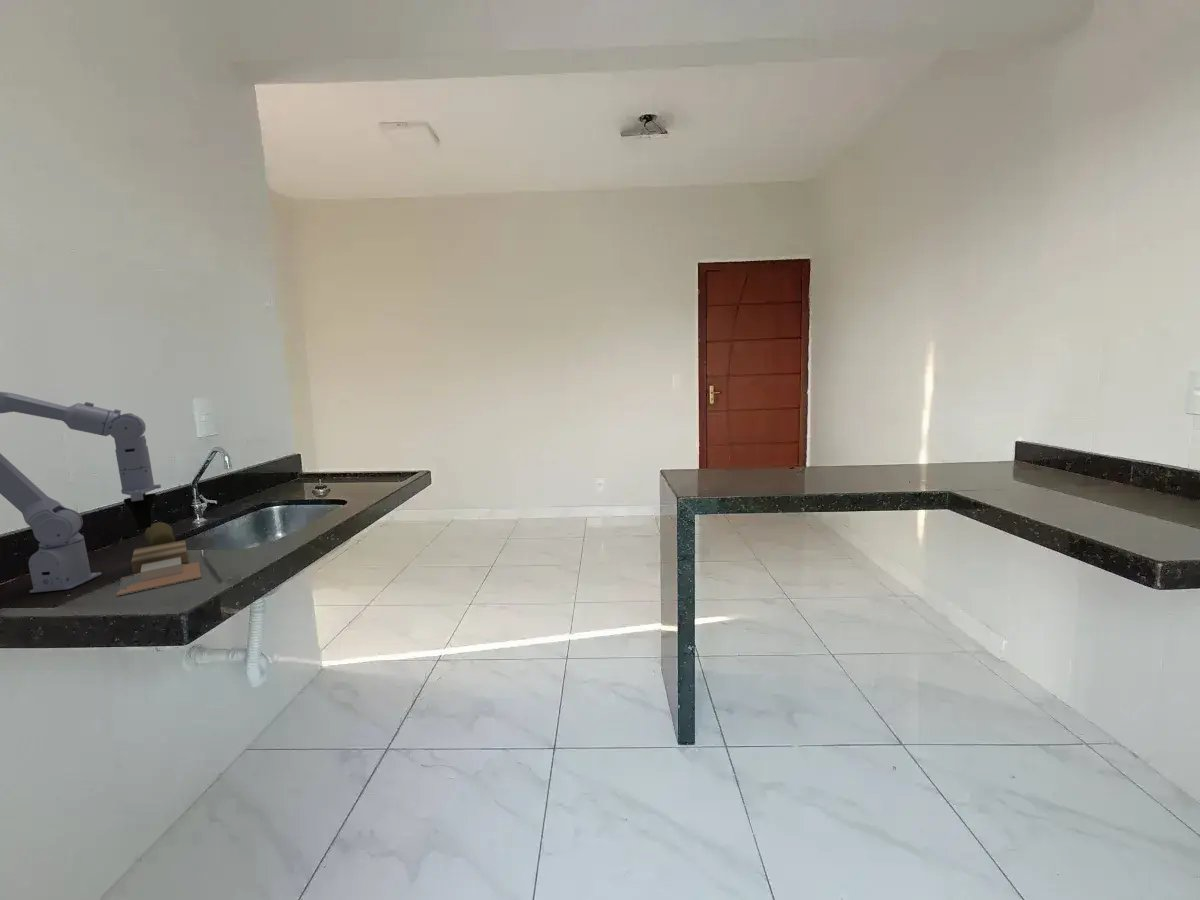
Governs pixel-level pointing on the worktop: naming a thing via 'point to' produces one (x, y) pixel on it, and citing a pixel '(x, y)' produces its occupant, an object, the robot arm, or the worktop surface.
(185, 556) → the wooden bridge block
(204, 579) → the worktop surface
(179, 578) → the mat
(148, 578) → the coaster
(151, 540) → the olive green rounded cylinder
